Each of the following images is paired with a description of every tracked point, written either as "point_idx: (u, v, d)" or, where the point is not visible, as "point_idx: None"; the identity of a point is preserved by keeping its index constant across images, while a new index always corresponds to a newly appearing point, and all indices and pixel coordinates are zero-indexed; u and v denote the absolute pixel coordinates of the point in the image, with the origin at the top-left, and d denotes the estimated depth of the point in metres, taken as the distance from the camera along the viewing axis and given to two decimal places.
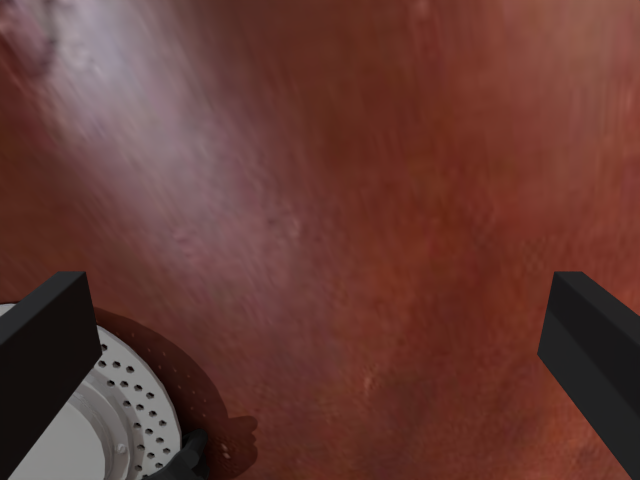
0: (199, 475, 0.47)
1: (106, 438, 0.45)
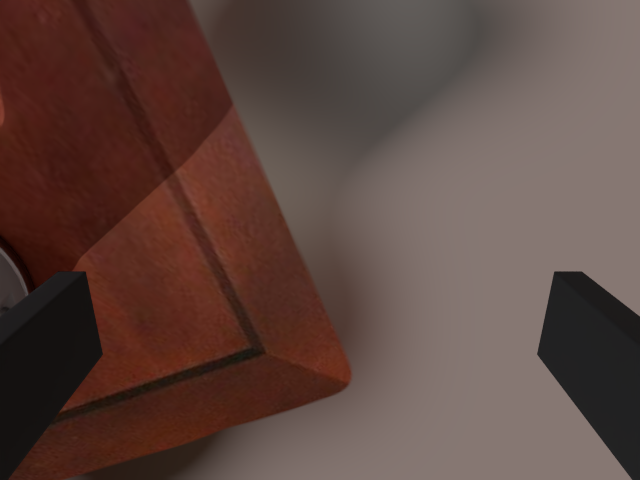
0: None
1: None
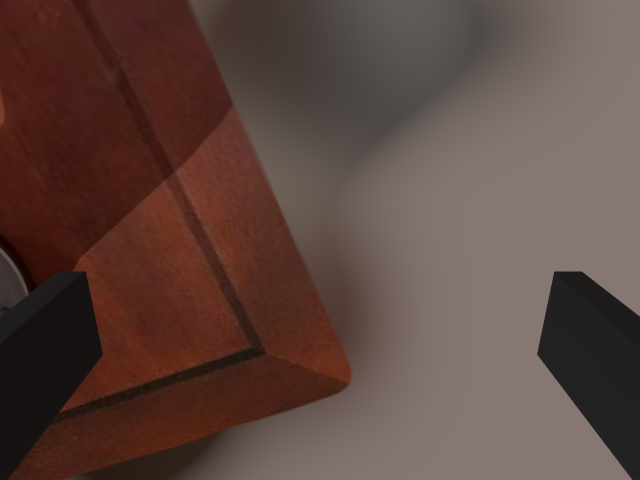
0: None
1: None
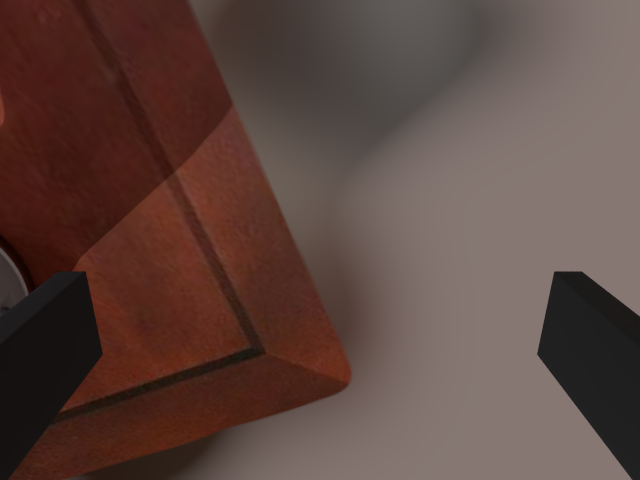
0: None
1: None
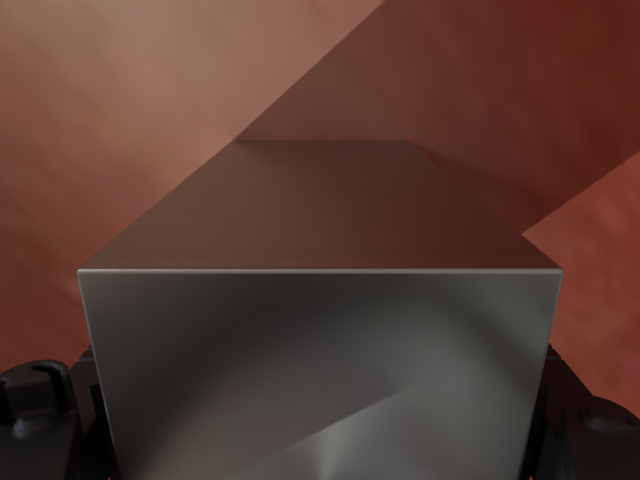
0: None
1: None
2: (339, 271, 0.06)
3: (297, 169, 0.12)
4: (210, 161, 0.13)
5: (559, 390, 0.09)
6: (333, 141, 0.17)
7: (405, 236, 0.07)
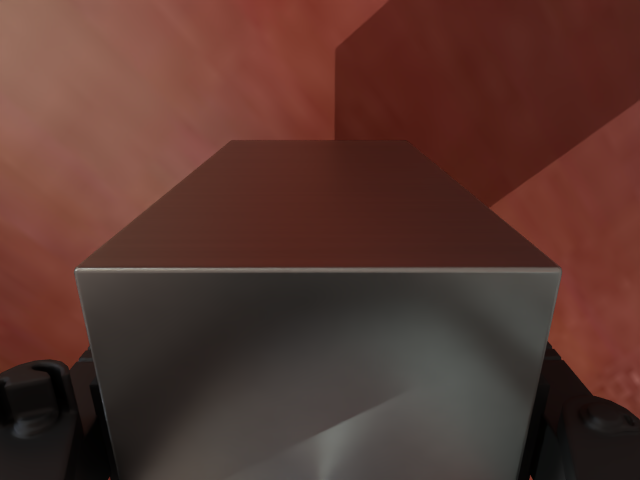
0: None
1: None
2: (337, 270, 0.06)
3: (296, 168, 0.12)
4: (209, 160, 0.13)
5: (559, 390, 0.09)
6: (332, 141, 0.16)
7: (403, 236, 0.07)
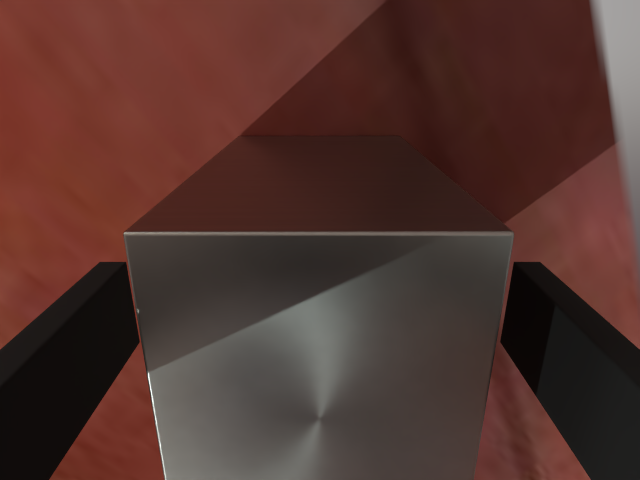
0: None
1: None
2: (334, 233, 0.08)
3: (299, 159, 0.13)
4: (221, 153, 0.14)
5: None
6: (332, 136, 0.18)
7: (389, 210, 0.09)
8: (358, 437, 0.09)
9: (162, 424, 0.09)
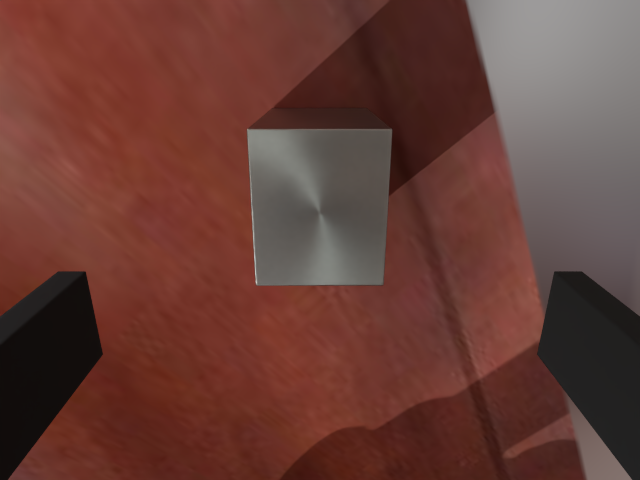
0: None
1: None
2: (325, 129, 0.20)
3: (309, 115, 0.26)
4: (267, 113, 0.27)
5: None
6: (327, 108, 0.31)
7: (348, 125, 0.21)
8: (336, 221, 0.22)
9: (254, 214, 0.22)
